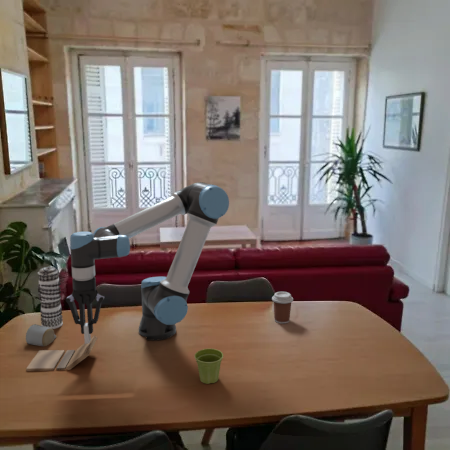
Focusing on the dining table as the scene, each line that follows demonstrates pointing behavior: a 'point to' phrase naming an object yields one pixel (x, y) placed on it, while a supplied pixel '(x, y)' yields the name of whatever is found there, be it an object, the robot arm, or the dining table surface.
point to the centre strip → (65, 360)
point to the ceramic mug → (40, 335)
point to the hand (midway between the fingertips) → (87, 341)
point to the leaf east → (45, 360)
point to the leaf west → (81, 353)
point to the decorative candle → (50, 297)
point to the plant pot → (209, 364)
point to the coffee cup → (282, 306)
